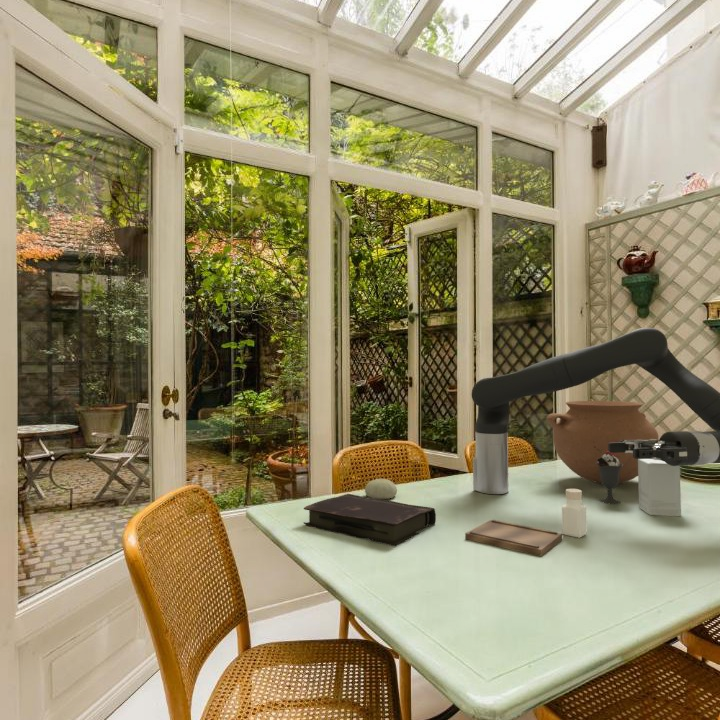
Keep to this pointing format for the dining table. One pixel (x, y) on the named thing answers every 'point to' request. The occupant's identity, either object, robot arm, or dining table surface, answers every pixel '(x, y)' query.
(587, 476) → the clay pot
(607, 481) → the sundae
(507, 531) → the walnut board
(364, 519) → the diary
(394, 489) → the sea urchin shell
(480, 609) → the dining table surface
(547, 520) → the dining table surface
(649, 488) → the supplement box
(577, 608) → the dining table surface
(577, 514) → the salt shaker
